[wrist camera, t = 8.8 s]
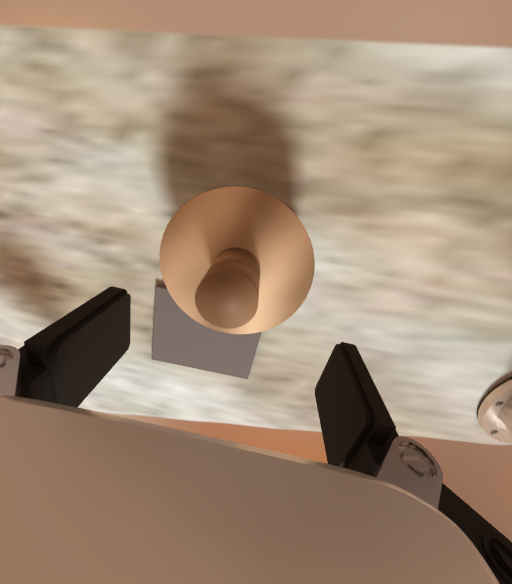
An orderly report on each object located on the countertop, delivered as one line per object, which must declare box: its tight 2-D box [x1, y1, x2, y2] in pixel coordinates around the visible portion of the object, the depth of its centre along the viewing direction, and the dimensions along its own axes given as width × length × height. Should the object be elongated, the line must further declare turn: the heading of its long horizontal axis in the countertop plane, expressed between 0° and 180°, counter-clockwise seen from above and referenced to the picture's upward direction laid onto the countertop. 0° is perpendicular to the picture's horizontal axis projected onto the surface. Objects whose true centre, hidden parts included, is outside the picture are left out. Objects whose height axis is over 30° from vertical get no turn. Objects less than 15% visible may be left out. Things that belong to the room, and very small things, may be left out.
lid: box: [160, 186, 314, 334], centre depth 16 cm, size 12×12×6 cm
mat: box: [152, 285, 261, 379], centre depth 28 cm, size 12×10×1 cm
